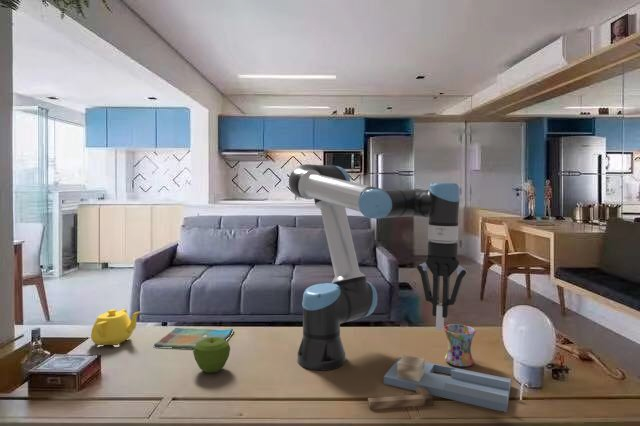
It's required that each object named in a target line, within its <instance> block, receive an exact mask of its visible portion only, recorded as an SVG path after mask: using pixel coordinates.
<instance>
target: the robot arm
mask: <svg viewBox="0 0 640 426" xmlns="http://www.w3.org/2000/svg"><path fill="white" fill-rule="evenodd" d="M288 188H290V191H291V192H292V193H293V195H295V196H296V197H298V198H302V199H305V200H313V201H314V205H315V207H316V208H318V209H320V212H321V217H322V223H323V226H324V232H325V236H326V240H327V241H326V242H327V245H328V251H329V254H330V260H331V264H332V269H333V272H334V278H333V280H332V281H331V282H324V283H317V284H313V285H311V286H308V287H307V288H306V289H305V290H304V292H303V294H302V303H301V305H302V338H301V341H300V344H299V348H298V351H297V364H299V365H300V366H301V367H303V368H306V369H308V370H313V371H328V370H333V369H339V368H340V367H341V366H343V365H345V363H346V350H345V348H344V344H343V342H342V339H341V324H344V323H348V322H352V321H355V320H360V319H363V318H366V317H368V316H370V315H371V314H373V312H374V311H375V309H376V308H377V305H378V293H377V289H376V288H375V286H374V285H373V283H372V282H369V281H368V280H367V277H366V275H365V274H364V273H363V272H361V271H360V266H359V262H358V258H357V254H356V249H355V245H354V240H353V236H352V231H351V227H350V223H349V218H348V214H347V209H349V210H354V211H356V212H359V213H360V214H362V215H363V216H364V217H365V218H367V219H375V220H380V219H390V218H404V217H417V218H420V217H421V218H428V232H427V233H428V235H427V239H428V240H429V241H428V242H427V257H426V259H425V262H423V263H420V264H419V265H417V266H416V269H417V271H418V272H419V274H420V278H421V282H422V288H423V293H424V297H425V301H426V302H430V303H431V304H432V316H433V317H435V318H436V319H435V320H436V321H435V330H437V331H443V330H444V327H445V324H444V323H445V318H446V319H447V317H448V315H449V306H451V305H452V306H453V305H455V303H456V302H457V298H458V295H459V293H460V289H461V285H462V282H463V279H464V278H465V275H466V274H467V273H468V269H467V268H463V267H462V266H461V265H460V263H459V260H458V246H459V245H458V243H457V242H458V240H459V214H460V213H459V212H460V209H459V208H460V200H461V198H460V186H459V184H458V183H455V182H431V183H430V185H429V189H411V188H403V189H385V188H381V187H380V188H379V187H375V186H371V185H366V184H361V183H358V182H354V181H351V178H350V176H349V174H348V172H347V171H346V169H344V167H341V166H339V165H332V164H328V165H327V164H326V165H323V164H307V163H305V164H301V165H299V166H296V168H294V169H293V170H292V171H291V173H290V175H289V178H288ZM346 208H347V209H346ZM456 241H457V242H456ZM428 269H429V270H430V272H431V274H432V288H431V283H430V279H429V275H428V271H427V270H428ZM455 271H456V275H457V277H456V279H455V282H454V286H453V289H452V293H451V295H450V283H451V282H450V281H451V275H453V273H454V272H455ZM441 277H442V301H441V302H440V284H441V283H440V282H441V281H440V279H441Z"/></svg>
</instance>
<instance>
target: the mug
mask: <svg viewBox="0 0 640 426" xmlns="http://www.w3.org/2000/svg"><path fill="white" fill-rule="evenodd" d="M443 331H444V332H445V336H446V340H447V351H446V354H445V355H444V360H445V361H446V362H447V363H448V364H449V365H451V366H456V367H471V366H472V365H474V363H475V361H474V358H473V356H472V342H473V339H474V337H475V334H476V332H477V331H476V329H475V328H473V327H471V326H468V325H464V324H460V323H459V324H455V323H453V324H452V323H451V324H447V325H444V328H443Z"/></svg>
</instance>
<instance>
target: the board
mask: <svg viewBox="0 0 640 426" xmlns="http://www.w3.org/2000/svg"><path fill="white" fill-rule="evenodd" d="M402 357H403V356H399V358H398V359H397V360H396V361H395V362H394V364H393V365H392V366H391V367H390V368H389V369H388V371H386V373H385V375H384V376H383V384H384V385H388V386H393V387H396V388H401V389H405V390H410V391H414V392H416V387H421V386H424V387H425V389H426V390H427V391H428V392H429V394H430V395H431V396H435V397H439V398H440V397H441V398H444V399H448V400H452V401H457V402H459V403H464V404H469V405H473V406H477V407H481V408H486V409H490V410H494V411H499V412H502V411H504V412H503V413H506V412H507V413H508V406H509V401H510V393H511V387H512V378H508V377H504V376H503V377H502V376H497V375H492V374H488V373H482V372H478V371H472V370H466V369H462V368H458V367H452V366H447V365H443V364H438V363H437V364H436V363H431V362H426V361H425V373H424V375H423V376H422V378H421V379H420V381H419V382H418V381H413V380H409V379H404V378H400V377H397V363H398V361H399V360H400V359H401V358H402ZM434 372H437V373H434ZM438 373H440V374H438ZM441 373H442V374H441ZM443 374H447V375H443ZM448 375H450V376H448Z"/></svg>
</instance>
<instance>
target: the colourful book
mask: <svg viewBox="0 0 640 426" xmlns="http://www.w3.org/2000/svg"><path fill="white" fill-rule="evenodd" d="M232 331H233V332H234V329H233V328H228V329H212V328H191V327H189V328H188V327H187V328H185V327H182V328H181V327H175V328H174V329H173V330H172V331H170V332H168V334H166V335H165V336H163V337H162V338H161V339H159V341H157V342H155V343H154V345H153V347H154V346H155V347H172V348H192V349H191V350H194V347H195V345H196V343H198V342H199V341H201V340H202V339H204V338H208V337H220V338H223V339H224V340H226V339H227V338H228V337H229V336H230V335H231V333H232ZM187 334H188V335H187ZM204 335H207V337H203V336H204Z"/></svg>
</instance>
